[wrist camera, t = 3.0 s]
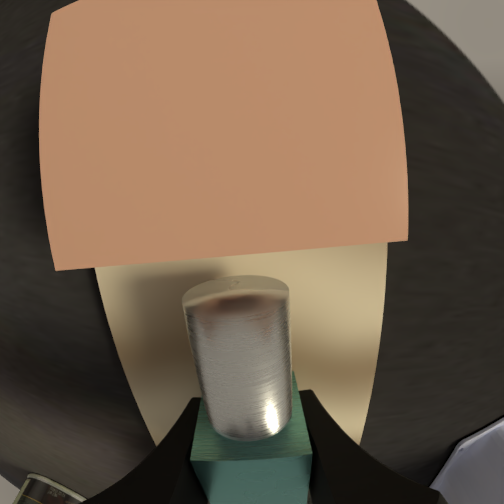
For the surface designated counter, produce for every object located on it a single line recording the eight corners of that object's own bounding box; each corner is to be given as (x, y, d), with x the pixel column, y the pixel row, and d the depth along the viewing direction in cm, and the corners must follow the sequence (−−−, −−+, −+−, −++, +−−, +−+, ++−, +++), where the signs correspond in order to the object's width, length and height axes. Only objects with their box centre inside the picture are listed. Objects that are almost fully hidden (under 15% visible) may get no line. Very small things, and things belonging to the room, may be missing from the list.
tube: (292, 500, 13) (299, 550, 9) (239, 503, 13) (238, 554, 9) (290, 264, 9) (318, 325, 5) (185, 273, 9) (147, 337, 5)
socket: (336, 210, 9) (407, 239, 5) (134, 229, 9) (55, 270, 5) (319, 45, 8) (365, -30, 3) (123, 68, 8) (52, 13, 3)
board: (343, 478, 14) (346, 487, 13) (186, 489, 14) (185, 498, 13) (361, 58, 8) (369, 50, 7) (88, 87, 8) (78, 82, 8)
